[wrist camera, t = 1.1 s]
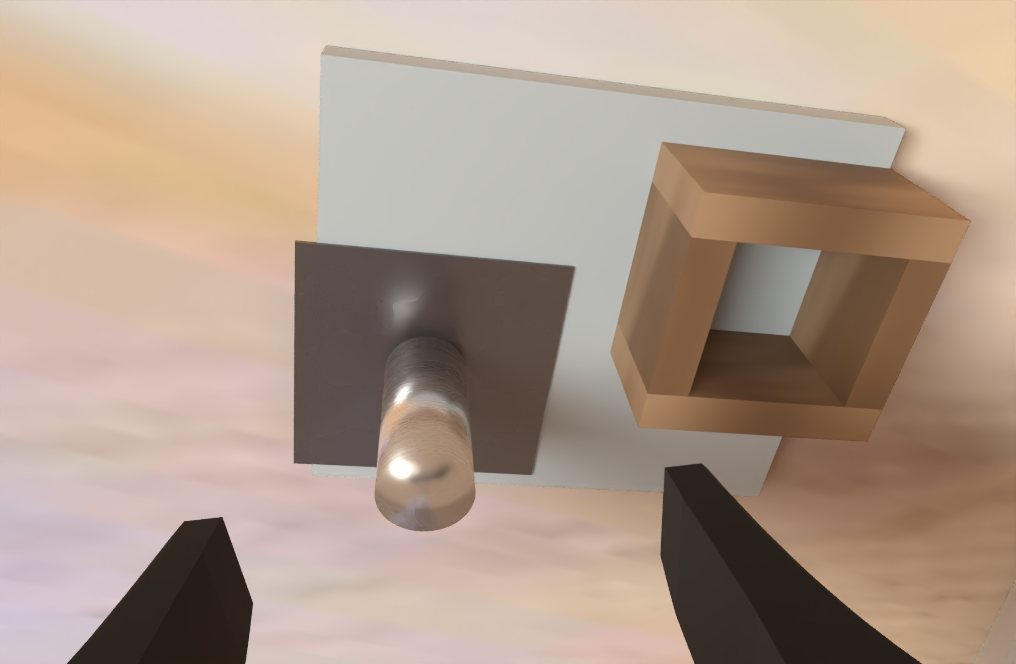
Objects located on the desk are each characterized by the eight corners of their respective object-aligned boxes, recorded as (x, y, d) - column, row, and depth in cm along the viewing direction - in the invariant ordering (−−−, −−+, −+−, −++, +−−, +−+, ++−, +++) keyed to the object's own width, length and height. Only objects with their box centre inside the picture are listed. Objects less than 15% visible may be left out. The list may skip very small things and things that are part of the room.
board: (885, 117, 20) (906, 128, 19) (747, 476, 26) (758, 496, 25) (325, 45, 18) (321, 54, 17) (316, 453, 24) (312, 475, 23)
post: (573, 265, 20) (611, 373, 16) (531, 472, 24) (553, 606, 19) (295, 240, 19) (257, 348, 15) (294, 460, 23) (263, 600, 18)
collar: (889, 168, 20) (971, 221, 17) (810, 367, 23) (867, 441, 20) (661, 141, 19) (704, 192, 16) (610, 352, 22) (638, 427, 19)
